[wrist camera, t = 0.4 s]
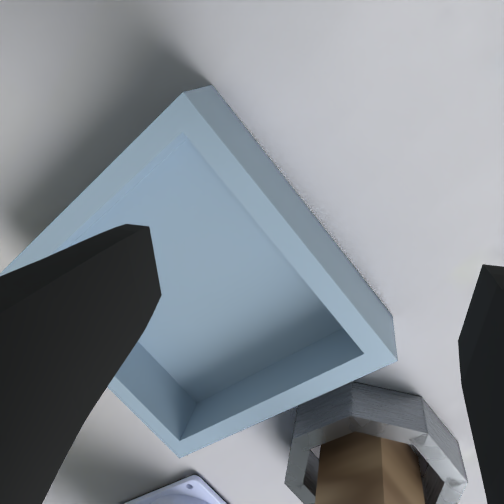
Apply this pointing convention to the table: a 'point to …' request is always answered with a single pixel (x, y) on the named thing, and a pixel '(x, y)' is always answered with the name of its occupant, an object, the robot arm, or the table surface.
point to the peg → (368, 472)
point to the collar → (376, 424)
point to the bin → (225, 280)
